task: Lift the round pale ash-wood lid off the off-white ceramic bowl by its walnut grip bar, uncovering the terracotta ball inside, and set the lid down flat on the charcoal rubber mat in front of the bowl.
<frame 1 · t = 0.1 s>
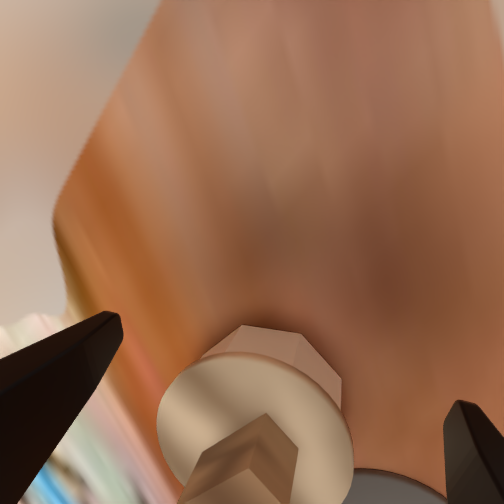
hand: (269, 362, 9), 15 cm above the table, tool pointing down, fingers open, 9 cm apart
lid: (252, 438, 23), point 5 cm above the table, touching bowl
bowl: (268, 390, 28), on the table
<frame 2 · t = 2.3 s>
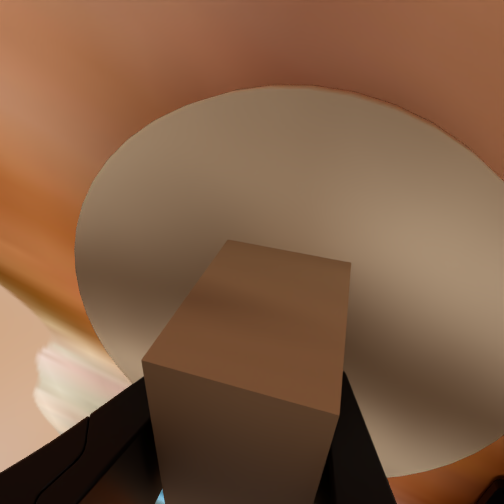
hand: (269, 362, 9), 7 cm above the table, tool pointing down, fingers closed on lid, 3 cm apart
lid: (283, 317, 11), point 5 cm above the table, touching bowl, gripper
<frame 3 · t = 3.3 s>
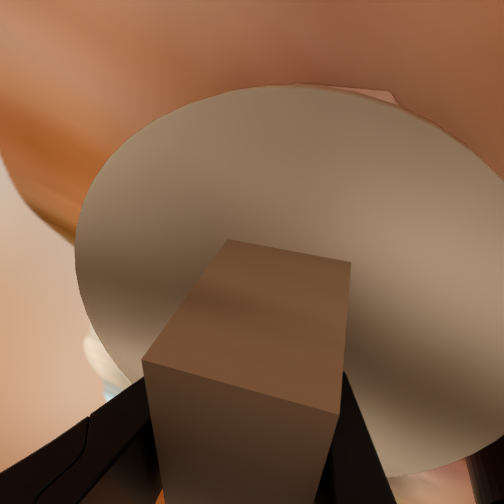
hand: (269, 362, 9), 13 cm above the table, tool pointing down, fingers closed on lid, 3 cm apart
lid: (283, 317, 11), point 11 cm above the table, touching gripper
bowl: (323, 193, 20), on the table
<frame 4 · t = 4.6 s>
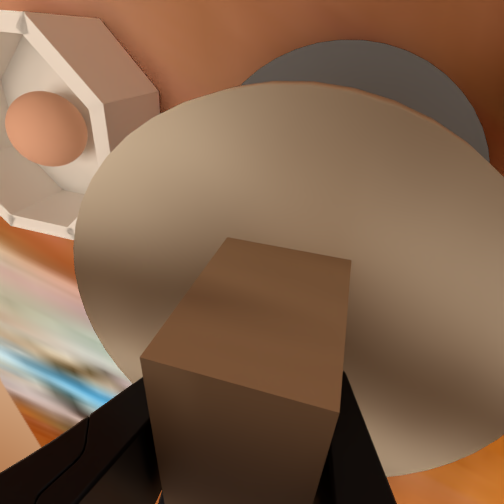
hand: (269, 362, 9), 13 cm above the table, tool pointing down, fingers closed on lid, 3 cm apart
lid: (283, 316, 11), point 11 cm above the table, touching gripper
mat: (331, 193, 20), on the table
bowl: (82, 120, 22), on the table
ball: (48, 130, 20), point 3 cm above the table, touching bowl
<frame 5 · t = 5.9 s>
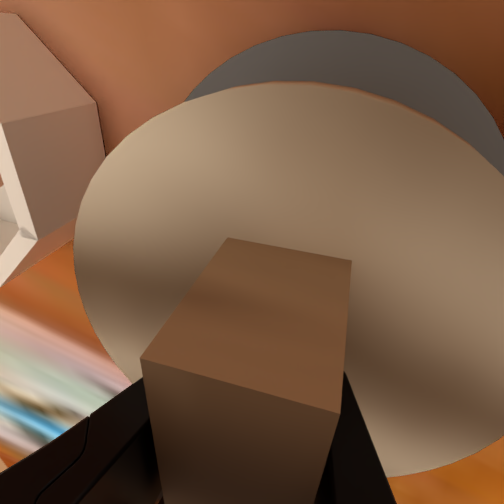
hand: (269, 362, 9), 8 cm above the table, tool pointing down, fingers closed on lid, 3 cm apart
lid: (283, 316, 11), point 6 cm above the table, touching gripper
mat: (312, 224, 16), on the table
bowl: (13, 139, 18), on the table
when the fingers open (4 cm above the table, at t = 6.9 s): lid drops 1 cm, resting on mat.
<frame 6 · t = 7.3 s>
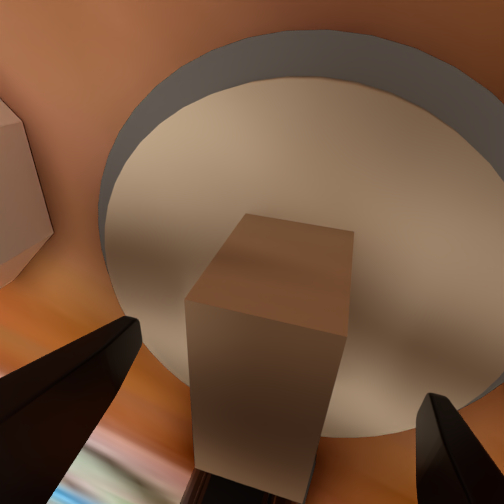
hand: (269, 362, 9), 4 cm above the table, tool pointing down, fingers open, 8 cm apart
lid: (292, 288, 12), point 1 cm above the table, touching mat
mat: (296, 276, 13), on the table
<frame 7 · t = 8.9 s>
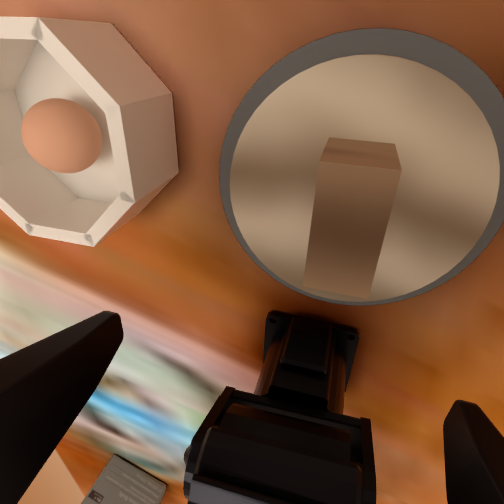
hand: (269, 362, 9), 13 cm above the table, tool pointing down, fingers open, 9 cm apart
lid: (350, 193, 19), point 1 cm above the table, touching mat
skincare box: (134, 475, 47), on the table
mat: (351, 188, 19), on the table
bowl: (95, 127, 22), on the table
ball: (63, 137, 20), point 3 cm above the table, touching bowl
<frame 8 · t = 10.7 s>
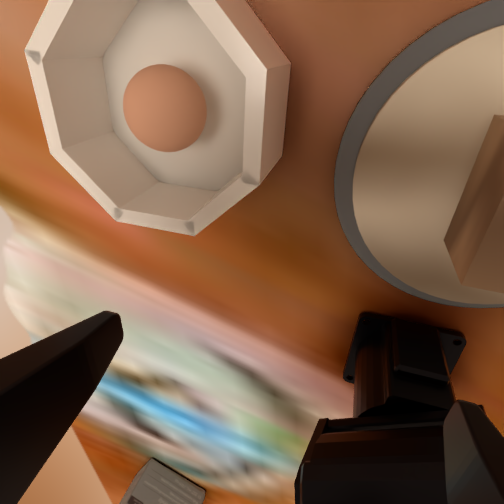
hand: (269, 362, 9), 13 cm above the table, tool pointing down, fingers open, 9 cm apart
lid: (495, 181, 17), point 1 cm above the table, touching mat
skincare box: (169, 479, 44), on the table
mat: (490, 176, 17), on the table
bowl: (189, 102, 20), on the table
ball: (166, 110, 17), point 3 cm above the table, touching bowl
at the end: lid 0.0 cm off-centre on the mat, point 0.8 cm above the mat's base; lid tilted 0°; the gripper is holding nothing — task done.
